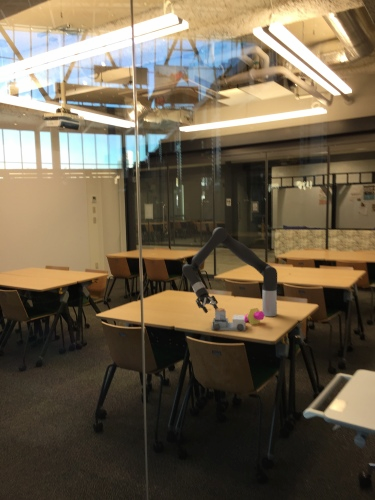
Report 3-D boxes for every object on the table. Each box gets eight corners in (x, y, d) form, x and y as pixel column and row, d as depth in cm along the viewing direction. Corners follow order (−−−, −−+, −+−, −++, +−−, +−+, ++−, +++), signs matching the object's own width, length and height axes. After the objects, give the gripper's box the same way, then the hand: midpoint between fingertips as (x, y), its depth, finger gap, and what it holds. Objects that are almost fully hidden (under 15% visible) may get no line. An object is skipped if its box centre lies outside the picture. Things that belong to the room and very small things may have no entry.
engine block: (220, 323, 253) (220, 307, 252) (225, 325, 249) (225, 308, 248) (215, 324, 250) (215, 308, 249) (220, 326, 246) (219, 310, 245)
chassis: (245, 324, 254) (245, 314, 253) (245, 331, 241) (245, 320, 240) (213, 324, 257) (213, 313, 256) (211, 330, 244) (211, 319, 243)
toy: (254, 319, 268) (246, 306, 267) (272, 317, 252) (263, 303, 252) (244, 328, 263) (236, 314, 262) (262, 326, 247) (253, 312, 247)
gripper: (194, 288, 256) (206, 309, 248) (211, 285, 264) (223, 306, 256) (189, 295, 260) (200, 316, 252) (206, 292, 269) (217, 312, 261)
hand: (212, 311), depth 254 cm, fingers open, 8 cm apart
